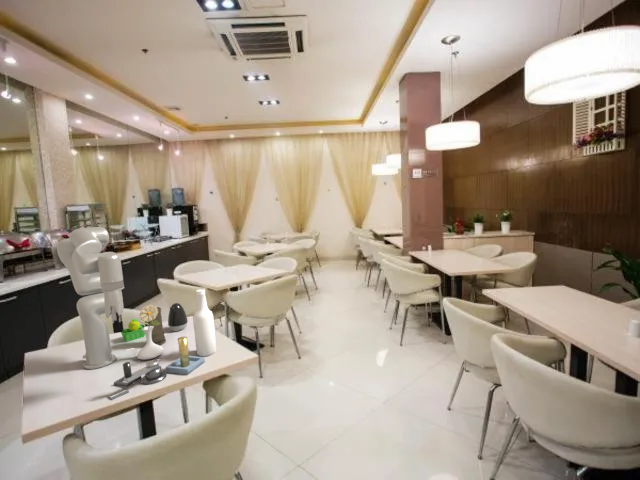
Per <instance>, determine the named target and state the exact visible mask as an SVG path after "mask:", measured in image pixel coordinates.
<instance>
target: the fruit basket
mask: <svg viewBox="0 0 640 480" xmlns="http://www.w3.org/2000/svg"><path fill="white" fill-rule="evenodd" d="M127 327H128V328H123V329H124V330H123V332H120V333H121V335H122V339H123V340H124V342H130V341H134V339H135V340H137V338H138V339H140V338H141V337H142V338H144V336H145V337H146V335H145V333H144V331H143V330H142V328H144V327H145V324H141V323H140V322H139V321H138V319H136V318H133V319H131V321H129V323H128V325H127ZM142 338H141V339H142Z"/></svg>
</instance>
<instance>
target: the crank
mask: <svg viewBox="0 0 640 480" xmlns="http://www.w3.org/2000/svg"><path fill="white" fill-rule="evenodd" d="M159 366H160V363H159V360H158V359H151V360H149V361H147V362H146V366H144V367H142V368H140V369H138V370H136V371H134V372H132V367H131V362H130V361H125V362H124V363H122V369H123V377H124V381H123V382H126V383H128V382H130V381H132V380H134V379H136V378H138V377H140V376H141V377H142V376H145V374H146V373H148V372H150V371H152V370H154V369H156V368H158V367H159Z"/></svg>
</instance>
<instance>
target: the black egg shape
mask: <svg viewBox="0 0 640 480" xmlns="http://www.w3.org/2000/svg"><path fill="white" fill-rule="evenodd" d="M168 311H169V312H168V317H167V326H168V328H169V329H170V330H171V331H174V332H181V331H182V330H184V329H185V328H186V327H187V325H188V321H189V320H188V317H187V313H186V311H185V309H184V307H183V305H182V304H181V303H178V302H176V303H175V302H174V303H173V304H172V305H171V306H170V307H169V310H168Z"/></svg>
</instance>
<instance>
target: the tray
mask: <svg viewBox="0 0 640 480" xmlns="http://www.w3.org/2000/svg"><path fill="white" fill-rule="evenodd" d="M189 362H190V365H189V366H187V367H181V364H180V357H179V358H177V359H175V360H174V361H172V362H171V363H169V364H167V366H165V372H166V373H171V374H180V375H181V374H182V375H190V374H191V373H192V372H194V371H195V370H197V369H198V368H199V367H200V366H202V365H203V364H204V363H205V362H206V361H205V356H204V357H202V356H194V355H189ZM194 369H195V370H194ZM193 370H194V371H193Z"/></svg>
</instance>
